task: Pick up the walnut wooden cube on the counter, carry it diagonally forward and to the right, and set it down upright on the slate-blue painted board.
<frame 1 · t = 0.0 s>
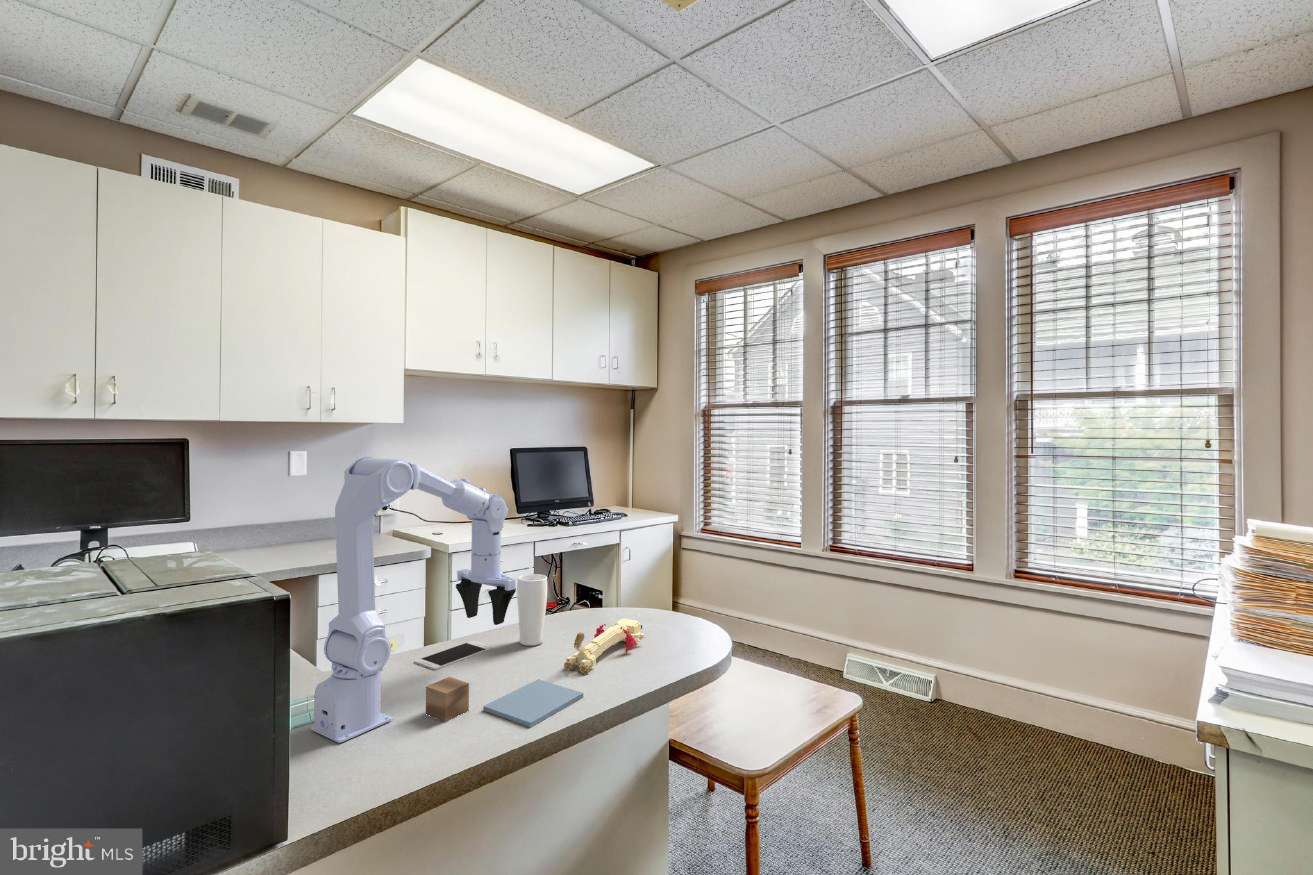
hand: (485, 620, 129), 10 cm above the worktop, tool pointing down, fingers open, 7 cm apart
walnut cube: (447, 713, 110), on the worktop
slate board: (534, 703, 114), on the worktop
drinking glass: (531, 643, 145), on the worktop
cream long lumpy piece: (608, 654, 140), on the worktop
smartphone: (455, 658, 137), on the worktop
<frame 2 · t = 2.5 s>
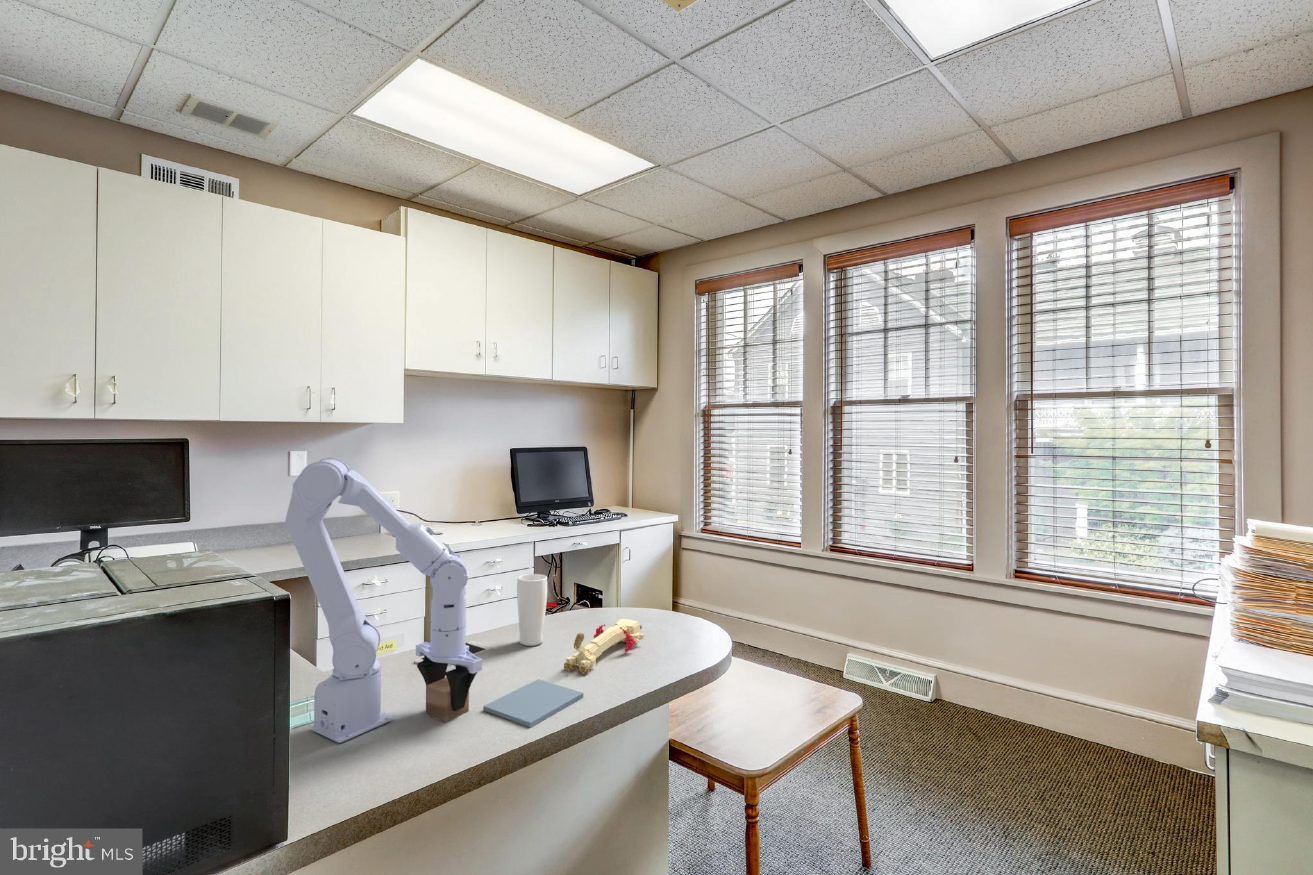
hand: (447, 704, 110), 1 cm above the worktop, tool pointing down, fingers closed on walnut cube, 5 cm apart
walnut cube: (447, 712, 110), on the worktop, touching gripper
everything else where it was.
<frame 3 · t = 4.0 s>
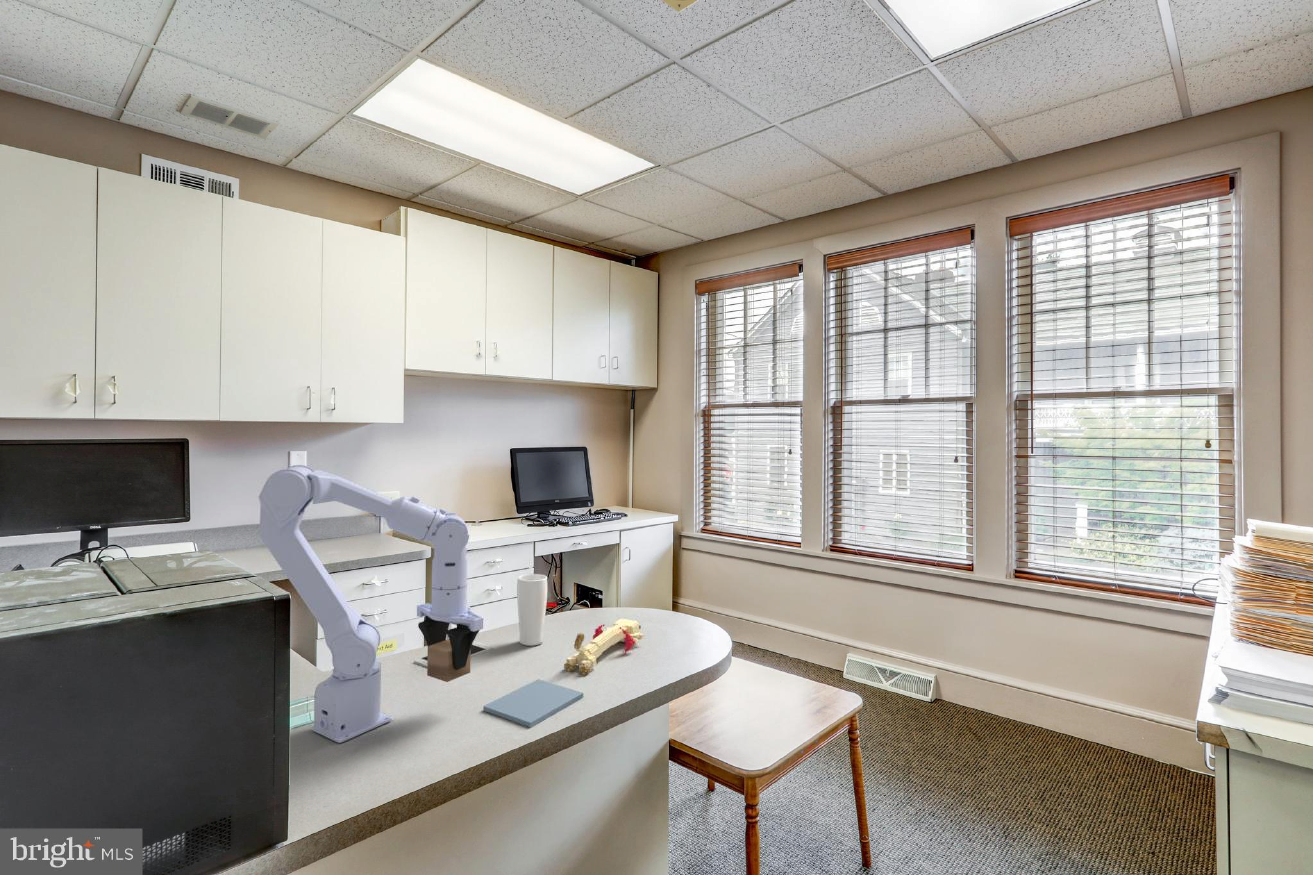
hand: (448, 664, 110), 8 cm above the worktop, tool pointing down, fingers closed on walnut cube, 5 cm apart
walnut cube: (448, 673, 110), point 7 cm above the worktop, touching gripper
everything else where it was.
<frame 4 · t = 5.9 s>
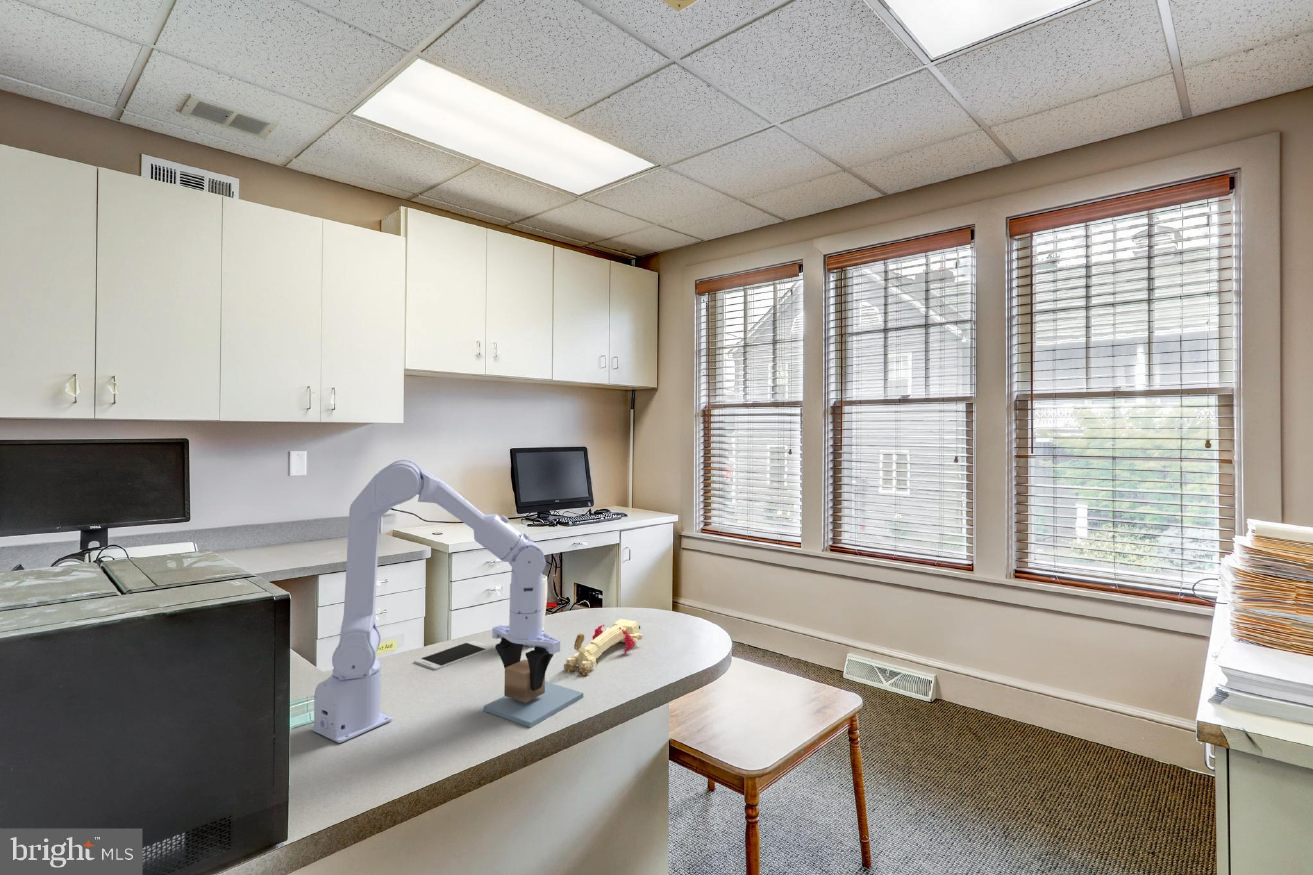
hand: (524, 684, 114), 3 cm above the worktop, tool pointing down, fingers closed on walnut cube, 5 cm apart
walnut cube: (524, 694, 114), point 2 cm above the worktop, touching gripper
everything else where it was.
when the fingers open (3 cm above the worktop, at t = 6.7 s): walnut cube stays where it is, resting on slate board.
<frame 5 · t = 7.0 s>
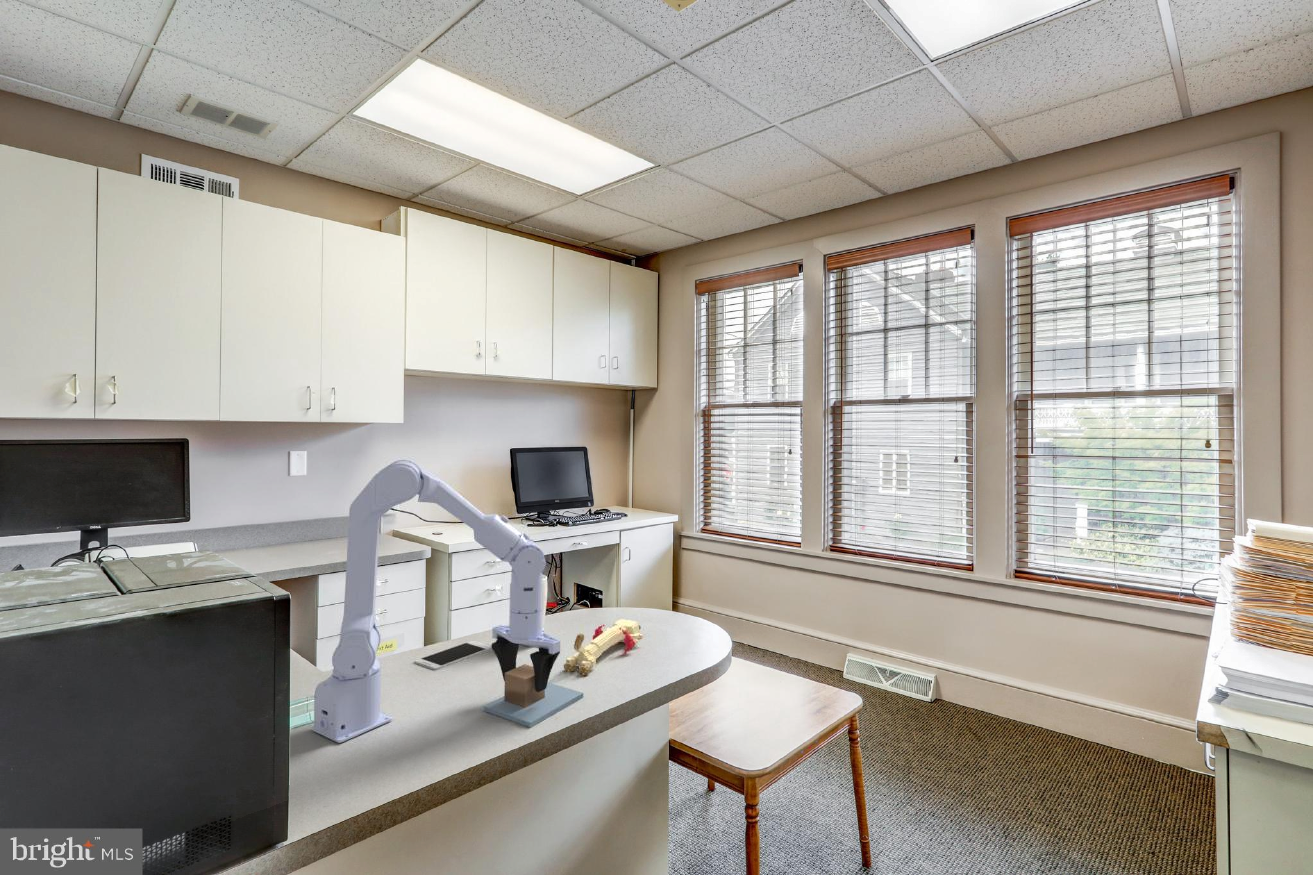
hand: (524, 684, 114), 3 cm above the worktop, tool pointing down, fingers open, 7 cm apart
walnut cube: (524, 699, 114), point 1 cm above the worktop, touching slate board
everything else where it was.
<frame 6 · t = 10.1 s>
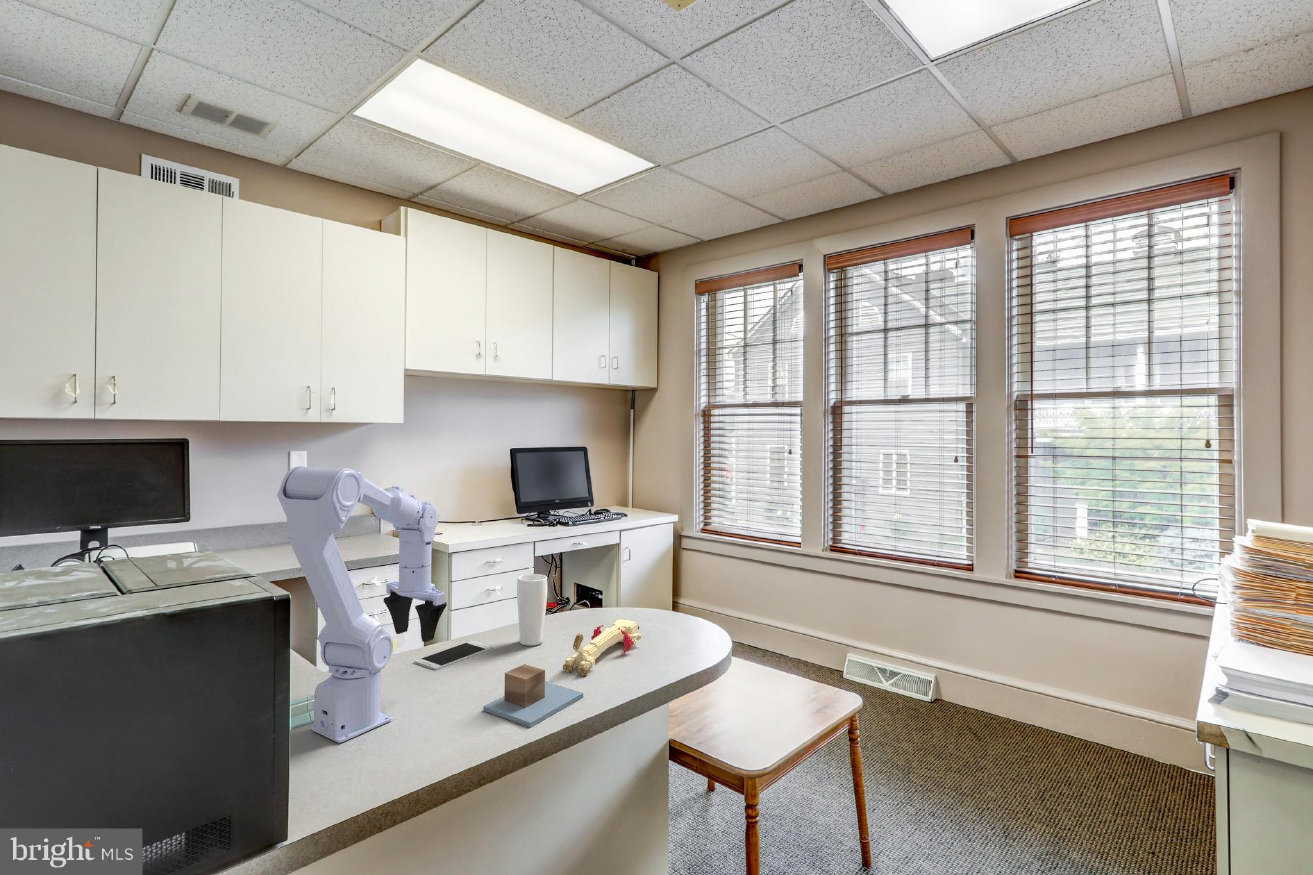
hand: (414, 636, 120), 9 cm above the worktop, tool pointing down, fingers open, 7 cm apart
nothing on the worktop moved.
at the end: walnut cube inside the target area on the slate board (1.8 cm from its centre), point 0.8 cm above the slate board's base; walnut cube tilted 0°; the gripper is holding nothing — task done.
